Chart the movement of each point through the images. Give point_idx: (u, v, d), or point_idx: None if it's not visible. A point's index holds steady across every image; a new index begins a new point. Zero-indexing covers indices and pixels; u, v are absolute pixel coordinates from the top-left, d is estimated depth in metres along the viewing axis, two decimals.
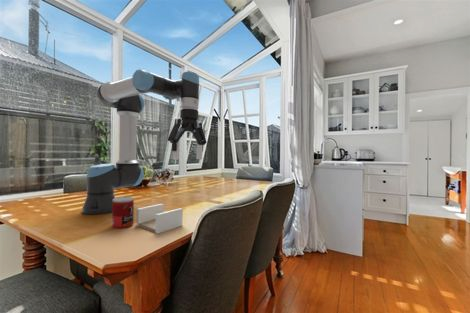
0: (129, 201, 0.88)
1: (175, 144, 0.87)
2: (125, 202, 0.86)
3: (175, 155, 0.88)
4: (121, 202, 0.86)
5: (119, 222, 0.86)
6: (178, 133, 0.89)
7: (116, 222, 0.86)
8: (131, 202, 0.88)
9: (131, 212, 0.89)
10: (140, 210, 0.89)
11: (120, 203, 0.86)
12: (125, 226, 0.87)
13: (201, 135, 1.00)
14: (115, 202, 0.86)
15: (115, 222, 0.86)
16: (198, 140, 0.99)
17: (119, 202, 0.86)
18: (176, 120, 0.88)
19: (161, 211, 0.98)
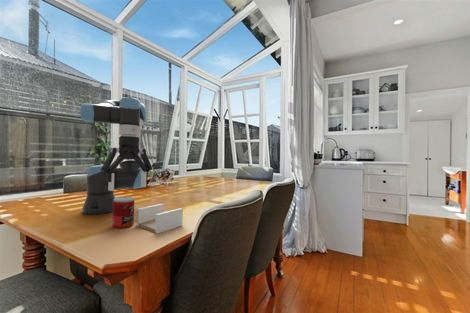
0: (130, 201, 0.88)
1: (109, 175, 0.82)
2: (126, 202, 0.87)
3: (110, 186, 0.83)
4: (122, 202, 0.86)
5: (119, 222, 0.86)
6: (114, 162, 0.85)
7: (116, 222, 0.86)
8: (132, 202, 0.89)
9: (131, 212, 0.89)
10: (140, 210, 0.89)
11: (121, 203, 0.86)
12: (125, 226, 0.87)
13: (145, 161, 0.95)
14: (116, 202, 0.86)
15: (115, 222, 0.86)
16: (142, 167, 0.94)
17: (120, 202, 0.86)
18: (111, 149, 0.84)
19: (161, 211, 0.98)
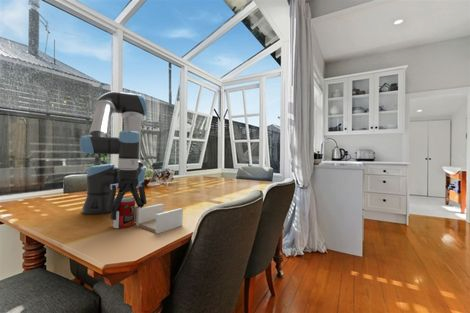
0: (130, 201, 0.88)
1: (114, 213, 0.84)
2: (126, 202, 0.87)
3: (115, 223, 0.85)
4: (122, 202, 0.86)
5: (120, 222, 0.86)
6: (116, 199, 0.86)
7: None
8: (132, 202, 0.89)
9: (132, 212, 0.89)
10: (140, 210, 0.89)
11: (121, 203, 0.86)
12: (126, 226, 0.87)
13: (141, 195, 0.94)
14: None
15: None
16: (136, 201, 0.93)
17: None
18: (111, 187, 0.84)
19: (161, 211, 0.98)
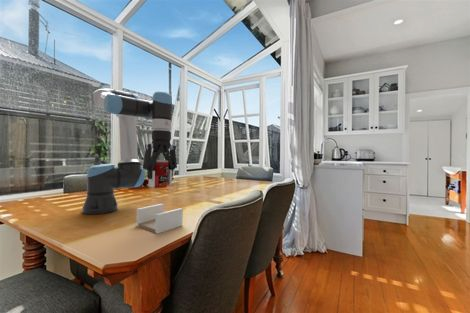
0: (165, 162, 0.89)
1: (150, 172, 0.86)
2: (161, 162, 0.88)
3: (151, 183, 0.87)
4: (158, 162, 0.88)
5: (156, 181, 0.88)
6: (152, 159, 0.87)
7: None
8: (167, 163, 0.90)
9: (166, 173, 0.90)
10: (140, 210, 0.89)
11: (157, 163, 0.88)
12: (161, 186, 0.88)
13: (172, 158, 0.95)
14: None
15: None
16: (168, 164, 0.93)
17: (156, 162, 0.87)
18: (146, 146, 0.85)
19: (161, 211, 0.98)
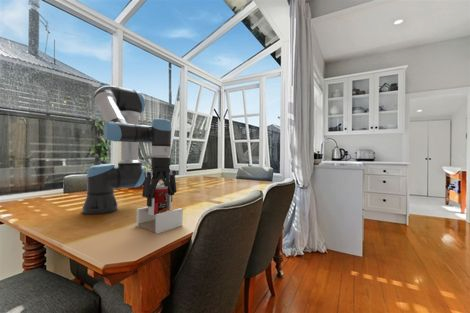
0: (164, 188, 0.89)
1: (150, 199, 0.86)
2: (161, 189, 0.88)
3: (150, 210, 0.87)
4: (157, 189, 0.88)
5: (155, 208, 0.88)
6: (151, 186, 0.87)
7: None
8: (166, 189, 0.90)
9: (166, 199, 0.90)
10: (140, 210, 0.89)
11: (156, 190, 0.88)
12: None
13: (172, 183, 0.95)
14: None
15: None
16: None
17: (155, 189, 0.88)
18: (146, 174, 0.85)
19: None
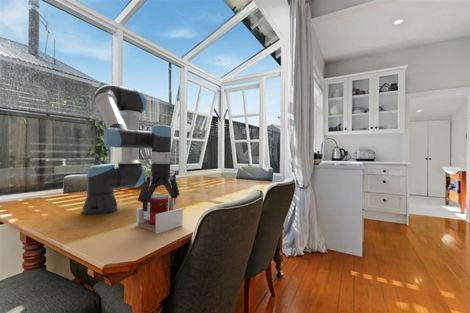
0: (165, 198, 0.89)
1: (146, 204, 0.85)
2: (161, 199, 0.88)
3: (146, 215, 0.85)
4: (158, 199, 0.88)
5: None
6: (149, 191, 0.86)
7: (152, 218, 0.88)
8: (166, 199, 0.90)
9: (166, 209, 0.90)
10: (140, 210, 0.89)
11: (157, 200, 0.88)
12: None
13: (174, 187, 0.96)
14: (152, 199, 0.88)
15: (151, 218, 0.88)
16: (170, 193, 0.95)
17: (156, 199, 0.88)
18: (145, 178, 0.85)
19: None
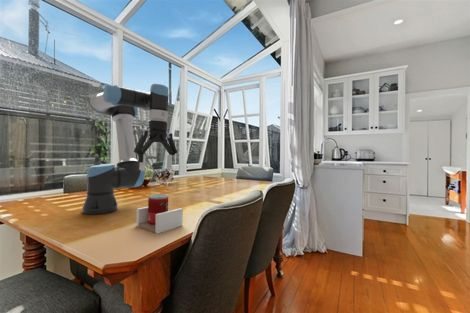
0: (165, 198, 0.89)
1: (141, 156, 0.89)
2: (161, 199, 0.88)
3: (141, 166, 0.90)
4: (158, 199, 0.88)
5: None
6: (145, 144, 0.91)
7: (152, 218, 0.88)
8: (166, 199, 0.90)
9: (166, 209, 0.90)
10: (140, 210, 0.89)
11: (157, 200, 0.88)
12: None
13: (171, 145, 1.02)
14: (152, 199, 0.88)
15: (151, 218, 0.88)
16: (168, 150, 1.01)
17: (156, 199, 0.88)
18: (143, 132, 0.90)
19: None
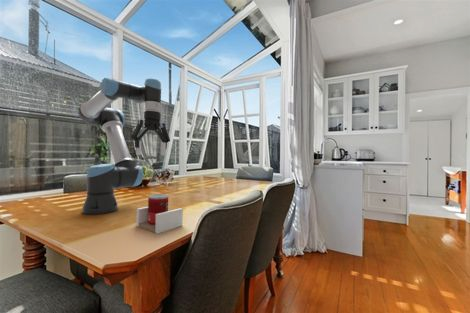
0: (165, 198, 0.89)
1: (137, 142, 1.00)
2: (161, 199, 0.88)
3: (138, 151, 1.01)
4: (158, 199, 0.88)
5: None
6: (141, 132, 1.02)
7: (152, 218, 0.88)
8: (166, 199, 0.90)
9: (166, 209, 0.90)
10: (140, 210, 0.89)
11: (157, 200, 0.88)
12: None
13: (165, 134, 1.13)
14: (152, 199, 0.88)
15: (151, 218, 0.88)
16: (162, 138, 1.12)
17: (156, 199, 0.88)
18: (139, 121, 1.01)
19: None
